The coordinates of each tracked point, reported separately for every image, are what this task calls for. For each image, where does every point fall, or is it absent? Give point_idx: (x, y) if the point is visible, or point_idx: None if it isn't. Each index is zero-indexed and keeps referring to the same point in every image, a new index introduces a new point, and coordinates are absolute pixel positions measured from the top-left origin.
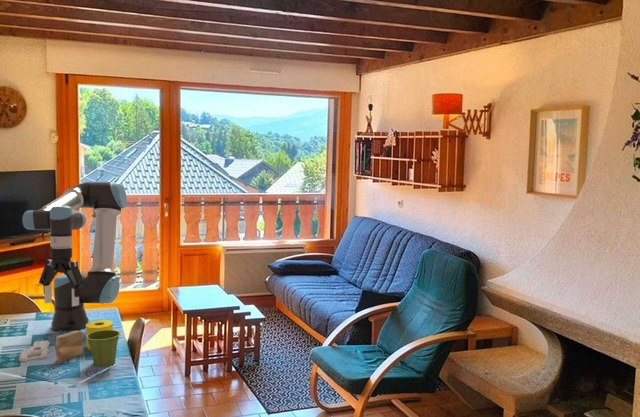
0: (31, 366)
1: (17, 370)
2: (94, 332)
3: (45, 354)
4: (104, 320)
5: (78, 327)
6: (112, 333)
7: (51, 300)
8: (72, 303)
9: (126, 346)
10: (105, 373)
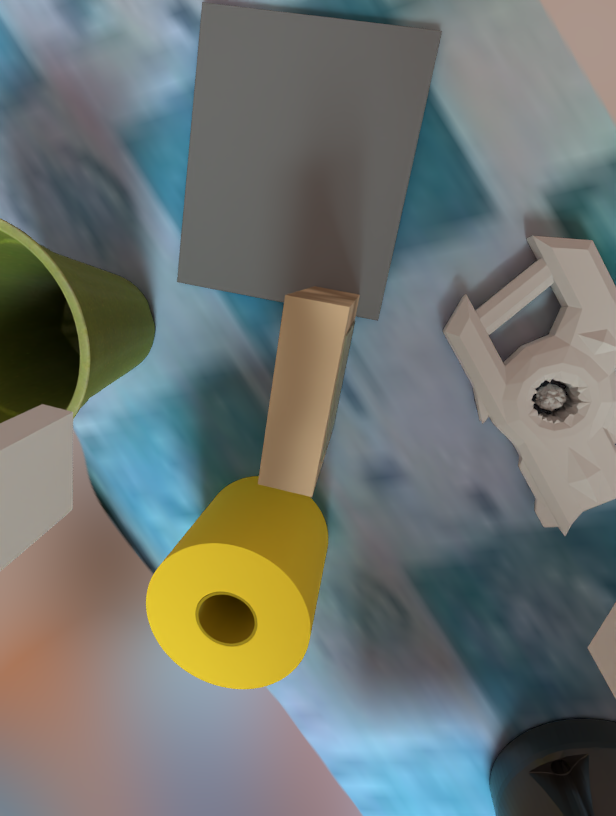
0: (470, 208)
1: (522, 126)
2: (76, 386)
3: (459, 340)
4: (235, 681)
5: (513, 754)
6: None
7: (605, 670)
8: (25, 424)
9: (152, 551)
10: (35, 211)
